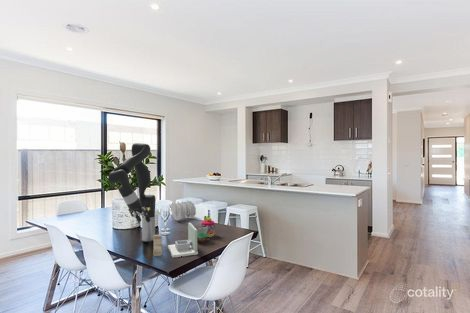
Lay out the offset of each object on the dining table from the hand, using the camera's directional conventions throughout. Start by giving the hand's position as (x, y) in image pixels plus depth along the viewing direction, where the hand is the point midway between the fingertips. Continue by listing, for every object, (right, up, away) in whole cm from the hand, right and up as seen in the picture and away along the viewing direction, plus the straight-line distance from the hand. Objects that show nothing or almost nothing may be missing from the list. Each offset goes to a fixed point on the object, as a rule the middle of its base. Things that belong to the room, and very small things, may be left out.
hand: (144, 221), depth 167 cm
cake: (+34, -22, +46) cm, 61 cm away
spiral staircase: (+5, -22, +99) cm, 102 cm away
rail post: (+6, -22, +5) cm, 24 cm away
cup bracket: (+21, -22, +12) cm, 33 cm away
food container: (+31, -22, +32) cm, 50 cm away
